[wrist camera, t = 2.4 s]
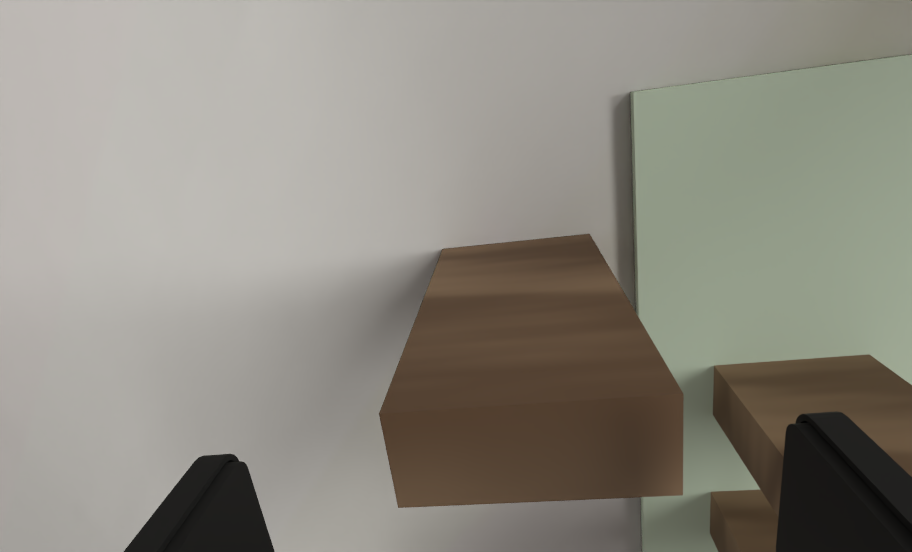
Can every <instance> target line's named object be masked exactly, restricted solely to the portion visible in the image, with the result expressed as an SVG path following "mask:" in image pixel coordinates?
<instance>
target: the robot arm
mask: <svg viewBox="0 0 912 552" xmlns="http://www.w3.org/2000/svg"><path fill="white" fill-rule="evenodd" d="M124 552H274V549H273V546H272V542H271V539H270V536H269V533H268V530H267V527H266V524H265V520H264V517H263V514H262V511H261V508H260V505H259V501H258V498H257V495H256V492H255V489H254V486H253V483H252V479H251V476H250V473H249V470H248V467H247V465H246V464H245V463H244V462H239V460H238V458H237V457H236V456H235V455H233V454H223V455H208V456H202V457H199V458H198V459H197V460H196V461H195V462H194V463H193V464H192V466H191V467H190V468H189V469H188V471H187V472H186V473H185V474H184V476H183V477H182V478H181V480H180V481H179V482H178V483H177V485H176V486H175V487H174V488H173V490H172V491H171V492H170V494H169V495H168V496H167V497H166V499H165V500H164V501H163V502H162V504H161V505H160V506H159V507H158V509H157V510H156V511H155V513H154V514H153V515H152V516H151V518H150V519H149V520H148V521H147V523H146V524H145V525H144V526H143V528H142V529H141V530H140V532H139V533H138V534H137V535H136V537H135V538H134V539H133V540H132V542H131V543H130V544H129V546H128V547H127V548H126V549H125V551H124ZM776 552H912V477H911V476H910V475H909V474H908V473H907V472H906V471H905V470H904V469H903V468H902V467H901V466H900V465H899V464H897V463H896V462H895V461H894V460H893V459H892V458H891V457H890V456H889V455H888V454H887V453H886V452H885V451H884V450H883V449H882V448H880V447H879V446H878V445H877V444H876V443H875V442H874V441H873V440H872V439H871V438H870V437H869V436H868V435H867V434H866V433H865V432H864V431H862V430H861V429H860V428H859V427H858V426H857V425H856V424H855V423H854V422H853V421H852V420H851V419H850V418H849V417H848V416H846V415H845V414H843V413H842V412H838V411H835V412H821V413H807V414H801V415H799V416H798V417H797V419H796V423H795V424H789V425H788V426H787V428H786V434H785V446H784V458H783V470H782V481H781V493H780V505H779V516H778V528H777V540H776Z"/></svg>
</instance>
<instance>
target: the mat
mask: <svg viewBox="0 0 912 552" xmlns="http://www.w3.org/2000/svg"><path fill="white" fill-rule="evenodd" d="M630 99H631V138H632V176H633V215H634V254H635V293H636V314H637V315H638V317H639V319H640V321H641V322H642V324H643V326H644V327H645V329H646V331H647V332H648V334H649V336H650V338H651V339H652V341H653V343H654V344H655V346H656V348H657V349H658V351H659V353H660V355H661V356H662V358H663V360H664V361H665V363H666V365H667V366H668V368H669V370H670V372H671V373H672V375H673V377H674V378H675V380H676V382H677V383H678V385H679V387H680V389H681V390H682V392H683V394H684V401H683V495H680V496H657V497H641V526H642V552H718V550H717V548H716V546H715V543H714V541H713V539H712V537H711V535H710V503H711V492H715V491H737V490H760V488H759V486H758V485H757V483H756V481H755V480H754V478H753V477H752V475H751V474H750V472H749V471H748V469H747V467H746V466H745V464H744V463H743V461H742V460H741V458H740V456H739V455H738V453H737V452H736V450H735V449H734V447H733V446H732V444H731V442H730V441H729V439H728V438H727V436H726V435H725V433H724V431H723V430H722V428H721V427H720V425H719V424H718V422H717V421H716V419H715V417H714V416H713V385H714V365H727V364H741V363H755V362H769V361H783V360H797V359H811V358H825V357H839V356H853V355H867V354H870V355H871V356H872V357H874V358H875V359H876V360H878V361H879V362H881V363H882V364H883V365H885V366H886V367H887V368H889V369H890V370H892V371H893V372H894V373H896V374H897V375H898V376H900V377H901V378H903V379H904V380H905V381H907V382H908V383H909V384H911V385H912V54H910V55H902V56H895V57H887V58H880V59H872V60H865V61H857V62H850V63H843V64H835V65H828V66H820V67H813V68H805V69H798V70H790V71H783V72H775V73H768V74H760V75H753V76H746V77H738V78H731V79H723V80H716V81H708V82H701V83H693V84H686V85H678V86H671V87H664V88H656V89H649V90H641V91H634V92H630Z"/></svg>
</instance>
